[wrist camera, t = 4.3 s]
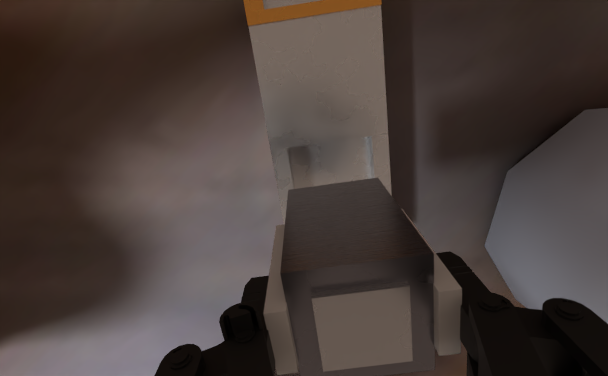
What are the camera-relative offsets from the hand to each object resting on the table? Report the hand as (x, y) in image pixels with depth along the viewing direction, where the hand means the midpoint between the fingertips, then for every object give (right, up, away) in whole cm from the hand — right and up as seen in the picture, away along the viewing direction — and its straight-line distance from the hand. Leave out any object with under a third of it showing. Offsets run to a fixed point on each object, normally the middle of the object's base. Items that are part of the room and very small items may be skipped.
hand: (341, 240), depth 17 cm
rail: (-1, +12, +9) cm, 14 cm away
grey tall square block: (0, +1, +2) cm, 2 cm away
